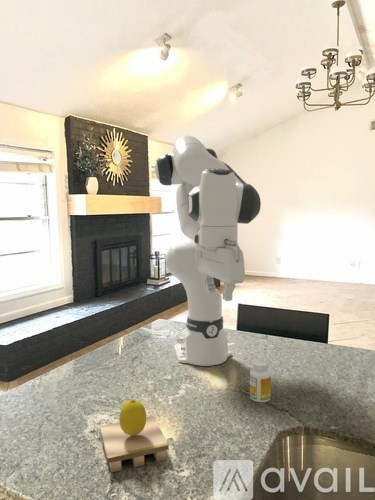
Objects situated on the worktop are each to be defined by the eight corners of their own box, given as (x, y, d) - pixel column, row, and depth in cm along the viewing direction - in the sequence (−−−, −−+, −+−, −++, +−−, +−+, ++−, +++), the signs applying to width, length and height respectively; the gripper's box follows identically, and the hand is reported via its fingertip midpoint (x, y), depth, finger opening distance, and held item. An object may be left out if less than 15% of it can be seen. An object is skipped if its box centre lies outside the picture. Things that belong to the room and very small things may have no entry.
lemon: (121, 429, 84) (119, 393, 83) (147, 428, 85) (146, 392, 84) (118, 444, 79) (117, 406, 78) (146, 443, 79) (145, 405, 78)
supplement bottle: (271, 394, 105) (272, 359, 104) (269, 404, 100) (269, 367, 99) (251, 392, 107) (251, 357, 106) (248, 401, 102) (248, 365, 101)
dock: (100, 438, 86) (99, 425, 86) (153, 428, 90) (153, 415, 90) (108, 473, 75) (107, 458, 74) (168, 459, 79) (168, 444, 78)
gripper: (252, 240, 83) (252, 304, 85) (213, 235, 103) (214, 287, 104) (225, 241, 81) (225, 307, 83) (191, 236, 100) (191, 289, 102)
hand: (218, 296), depth 93 cm, fingers open, 8 cm apart
